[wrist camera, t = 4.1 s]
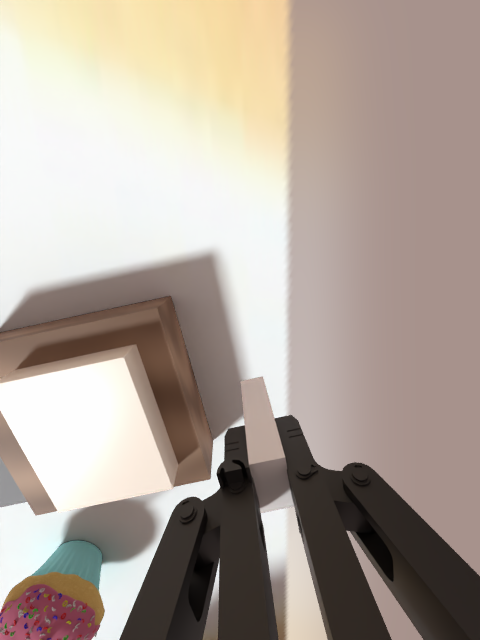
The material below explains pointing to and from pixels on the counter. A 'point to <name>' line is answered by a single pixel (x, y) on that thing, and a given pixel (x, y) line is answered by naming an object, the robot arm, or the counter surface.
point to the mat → (9, 488)
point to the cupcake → (57, 598)
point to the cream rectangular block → (90, 428)
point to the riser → (160, 365)
